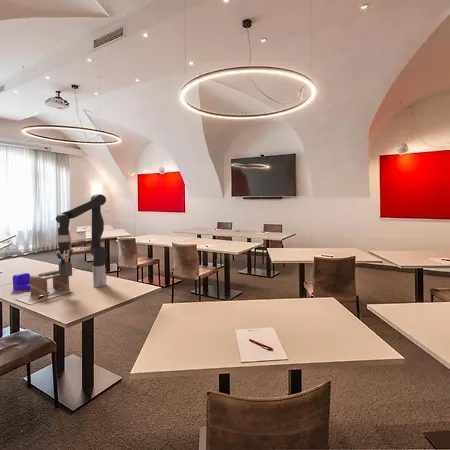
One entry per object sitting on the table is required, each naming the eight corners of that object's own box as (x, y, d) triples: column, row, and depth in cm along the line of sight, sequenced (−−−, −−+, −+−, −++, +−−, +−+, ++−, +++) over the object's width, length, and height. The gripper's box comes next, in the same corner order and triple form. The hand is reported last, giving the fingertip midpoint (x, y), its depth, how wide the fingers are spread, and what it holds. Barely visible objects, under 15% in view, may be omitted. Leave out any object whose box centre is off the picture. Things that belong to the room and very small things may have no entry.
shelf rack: (55, 287, 237) (54, 268, 236) (69, 289, 231) (68, 270, 229) (30, 294, 219) (29, 274, 217) (45, 297, 212) (44, 276, 211)
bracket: (13, 290, 229) (12, 275, 228) (26, 286, 240) (25, 272, 239) (30, 292, 224) (29, 277, 223) (43, 288, 234) (42, 273, 233)
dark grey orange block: (64, 274, 223) (63, 256, 222) (72, 275, 220) (71, 257, 218) (59, 275, 219) (58, 257, 218) (67, 276, 216) (66, 258, 215)
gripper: (68, 239, 225) (69, 261, 227) (51, 241, 212) (53, 265, 214) (75, 239, 222) (76, 262, 224) (58, 242, 209) (60, 266, 211)
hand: (65, 263), depth 219 cm, fingers closed on dark grey orange block, 2 cm apart
